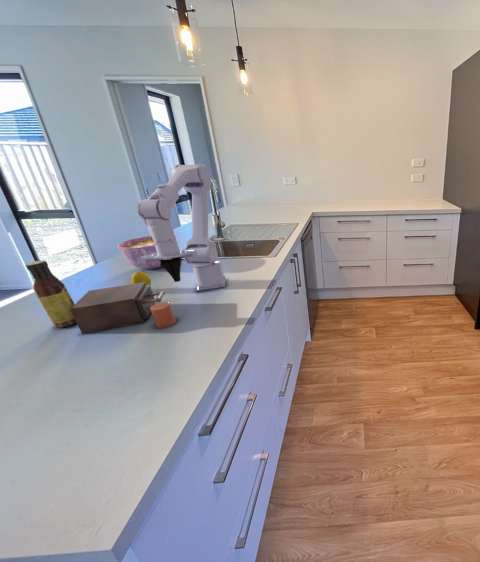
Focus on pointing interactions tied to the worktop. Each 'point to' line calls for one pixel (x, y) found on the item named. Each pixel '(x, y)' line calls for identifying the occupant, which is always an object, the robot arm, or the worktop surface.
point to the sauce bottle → (52, 294)
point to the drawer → (147, 300)
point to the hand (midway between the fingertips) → (177, 280)
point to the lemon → (140, 278)
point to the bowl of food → (139, 251)
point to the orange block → (163, 314)
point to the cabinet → (108, 308)
